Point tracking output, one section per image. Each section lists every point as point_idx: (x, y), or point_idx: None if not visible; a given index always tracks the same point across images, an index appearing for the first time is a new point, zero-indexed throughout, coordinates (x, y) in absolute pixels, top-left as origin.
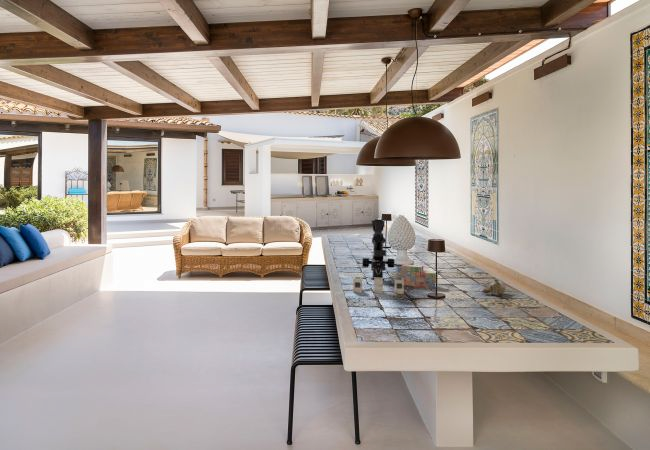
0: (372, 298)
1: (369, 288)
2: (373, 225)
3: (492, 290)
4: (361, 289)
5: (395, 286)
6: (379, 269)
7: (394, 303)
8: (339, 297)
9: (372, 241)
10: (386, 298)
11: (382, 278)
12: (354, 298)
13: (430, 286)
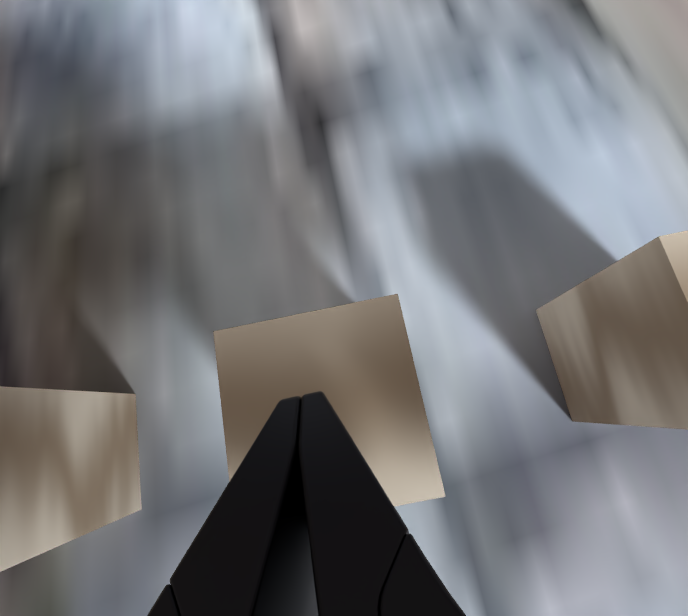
0: (347, 108)
1: (516, 608)
2: None
3: None
4: (558, 298)
5: (61, 392)
6: (237, 544)
7: (131, 22)
8: (682, 38)
9: None
10: (212, 151)
11: (231, 447)
12: (520, 53)
13: None
